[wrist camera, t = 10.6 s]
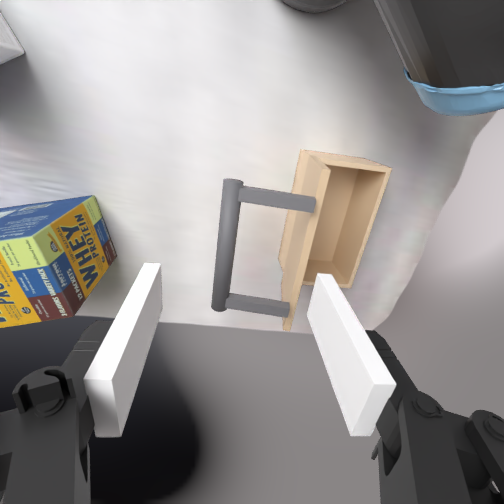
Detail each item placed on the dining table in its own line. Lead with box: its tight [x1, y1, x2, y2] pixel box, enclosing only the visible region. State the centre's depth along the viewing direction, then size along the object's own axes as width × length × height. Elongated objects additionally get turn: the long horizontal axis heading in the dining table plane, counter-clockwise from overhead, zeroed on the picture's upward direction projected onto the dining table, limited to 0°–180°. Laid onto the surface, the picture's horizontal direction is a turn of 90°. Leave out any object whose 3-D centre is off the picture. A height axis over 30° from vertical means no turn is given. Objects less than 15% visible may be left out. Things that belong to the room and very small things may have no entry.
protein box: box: [0, 195, 117, 328], centre depth 37 cm, size 10×15×16 cm
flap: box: [211, 155, 331, 331], centre depth 33 cm, size 18×12×9 cm
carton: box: [278, 149, 392, 288], centre depth 43 cm, size 18×10×8 cm, turn 172°
